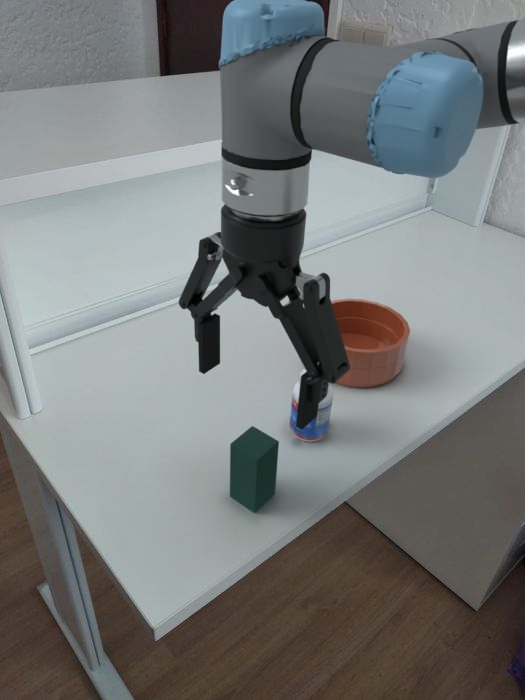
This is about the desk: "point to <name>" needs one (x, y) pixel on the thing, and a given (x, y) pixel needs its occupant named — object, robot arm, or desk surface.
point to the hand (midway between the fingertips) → (255, 393)
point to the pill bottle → (317, 425)
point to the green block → (253, 468)
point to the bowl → (371, 341)
